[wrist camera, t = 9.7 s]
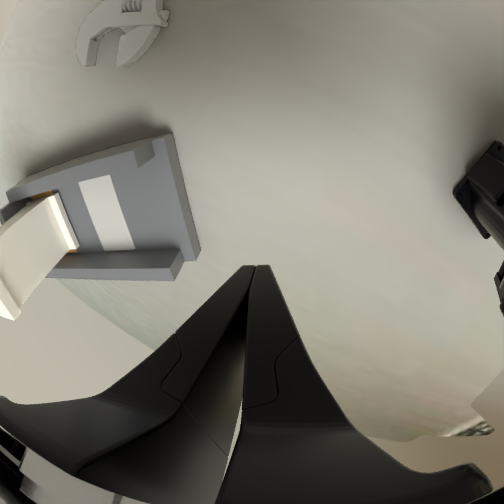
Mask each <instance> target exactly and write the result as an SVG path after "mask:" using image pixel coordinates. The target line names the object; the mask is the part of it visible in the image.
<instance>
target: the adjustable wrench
mask: <svg viewBox="0 0 504 504" xmlns="http://www.w3.org/2000/svg"><path fill="white" fill-rule="evenodd" d="M168 18H169V11H168V10H164V11H163V0H104V1H103V2H102V3H101V4H100V5H98V6H97V7H96V8H95V9H94V10H93V11H92V12H91V13H90V14H89V15H88V16H87V17H86V19H85V20H84V22H83V23H82V25H81V27H80V29H79V32H78V35H77V39H76V54H77V58H78V61H79V63H80V65H82V66H84V67H87V66H95V63H96V56H97V50H98V44H99V39H100V38H101V37H103V36H104V35H106V34H107V33H109V32H110V31H112V30H113V29H115V28H120V29H121V30H122V31H124V32H125V33H126V34H124V35H122V36H120V40H119V45H118V51H117V56H116V62H115V66H130V65H131V64H133V63H134V62H136V61H137V60H138V59H139V58H140V57H141V56H142V55H143V54H144V53H145V52H146V51H147V50H148V49H149V48H150V46H151V45H152V43H153V42H154V40H155V39H156V37H157V35H158V33H159V32H160V30H161V27H168V22H167V21H166V20H168Z"/></svg>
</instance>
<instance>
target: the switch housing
mask: <svg viewBox="0 0 504 504" xmlns="http://www.w3.org/2000/svg"><path fill="white" fill-rule="evenodd" d="M55 193H59V196H60V199H61V201H62V204H63V207H64V209H65V212H66V214H67V217H68V219H69V222H70V224H71V226H72V229H73V231H74V233H75V236H76V238H77V240H78V242H79V245H80V246H79V247H78V248H77V249H70V250H69V251H68V252H67V253H66V254H65V255H64V256H63V257H62V259H61V260H60V261H59V262H58V263H57V264H56V265H55V266H54V267H53V269H52V270H51V271H50V272H49V273H48V274H47V275H46V278H64V279H92V280H132V281H175V279H176V277H177V275H178V273H179V271H180V269H181V267H182V265H183V263H184V261H196V260H197V258H198V256H199V253H200V251H201V248H200V245H199V241H198V237H197V233H196V229H195V226H194V222H193V218H192V214H191V210H190V206H189V202H188V198H187V194H186V190H185V185H184V181H183V177H182V173H181V168H180V164H179V160H178V155H177V151H176V146H175V141H174V137H173V133H169V134H165V135H160V136H155V137H151V138H147V139H142V140H138V141H134V142H130V143H126V144H123V145H119V146H115V147H112V148H108V149H105V150H101V151H98V152H95V153H91V154H88V155H85V156H82V157H79V158H76V159H73V160H70V161H67V162H64V163H61V164H59V165H56V166H53V167H51V168H48V169H45V170H43V171H40V172H38V173H35V174H33V175H30V176H28V177H26V178H25V179H23V180H21V181H20V182H18V184H17V185H15V186H14V187H13V188H11V189H10V190H8V191H7V192H6V194H7V197H8V200H9V203H8V204H7V205H5V206H4V207H3V208H1V209H0V222H1V224H2V225H3V224H4V223H5V222H6V221H8V220H9V219H10V218H11V217H13V216H14V215H15V214H16V213H18V212H19V211H20V210H21V209H23V208H24V207H25V206H27V205H26V203H28V202H29V201H31V200H34V199H37V198H41V197H44V196H48V195H51V194H55Z"/></svg>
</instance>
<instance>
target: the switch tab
mask: <svg viewBox="0 0 504 504" xmlns="http://www.w3.org/2000/svg"><path fill="white" fill-rule="evenodd" d="M26 205H27V206H25V207H24V208H23V209H21V210H20V211H19V212H18V213H16V214H15V215H14V216H13V217H11V218H10V219H9V220H8V221H6V222H5V223H4V224H3V225H2V226H1V227H0V316H2V317H5V318H8V319H11V320H16V318H17V317H18V316H19V315H20V313H21V311H20V309H19V308H20V307H21V306H22V305H23V303H24V302H25V300H26V299H27V298H28V297H29V296H30V294H31V293H32V292H33V291H34V289H35V288H36V287H37V286H38V285H39V284H40V282H41V281H42V280H43V279H44V278H45V277H46V275H47V274H48V273H49V272H50V271H51V270H52V269H53V267H54V266H55V265H56V264H57V263H58V262H59V261H60V260H61V259H62V257H63V256H64V255H65V254H66V253H67V252H68V251H69V250H70V249H77V248H78V247H79V246H80V245H79V242H78V240H77V238H76V236H75V233H74V231H73V229H72V226H71V224H70V222H69V219H68V217H67V214H66V212H65V209H64V207H63V204H62V201H61V199H60V196H59V193H55V194H51V195H48V196H44V197H41V198H37V199H34V200H31V201H29V202H28V203H26Z"/></svg>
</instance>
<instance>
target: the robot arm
mask: <svg viewBox="0 0 504 504" xmlns="http://www.w3.org/2000/svg"><path fill="white" fill-rule="evenodd" d="M497 146H498V149H497ZM460 192H461V193H460ZM459 193H460V195H459V196H458V194H459ZM453 196H454V198H455V199H456V200H457V202H458V203H459V204H460V206H461V207H462V208H463V210H464V211H465V212H466V214H467V215H468V216H469V218H470V219H471V221H472V222H473V223H474V225H475V226H476V228H477V229H478V231H479V232H480V234H481V235H482V236H483V238H484V239H488V238H489V237H490V236H492V237H493V238H494V239H495V241H496V242H497V243H498V244H499V245H500V247H501V248H502V249H503V250H504V146H503V144H502V143H501V142H499V141H494V142H493V144H492V145H491V146H490V148H489V149H488V150H487V151H486V153H485V154H484V155H483V156H482V158H481V159H480V160H479V161H478V162H477V164H476V165H475V166H474V167H473V169H472V170H471V171H470V172H469V173H468V175H467V176H466V177H465V178H464V179H463V181H462V182H461V183H460V184H459V185H458V186H457V187H456V189H455V190H454V192H453ZM494 281H495V284H496V287H497V291H498V295H499V298H500V302H501V304H500V310H501V312H502V314H503V316H504V261H503V263H502V265H501V267H500V270H499V272H497V273H496V275H495V277H494ZM242 397H243V398H242ZM241 401H242V417H241V425H240V431H239V435H238V438H237V441H236V444H235V447H234V450H233V453H232V456H231V459H230V462H229V465H228V468H227V470H226V473H225V476H224V472H225V468H226V464H227V460H228V455H229V452H230V448H231V443H232V439H233V435H234V431H235V427H236V423H237V418H238V414H239V409H240V406H241ZM0 426H2V427H3V428H4V429H5V430H6V431H7V432H9V433H10V434H11V435H10V434H9V433H7V432H6V431H4V430H3V429H2V428H1V427H0V504H504V486H503V487H501V488H499V489H497V490H495V491H493V492H492V490H493V486H492V484H491V481H490V480H489V478H488V477H487V476H486V475H485V474H484V473H483V472H482V470H480V469H479V468H478V467H477V466H476V465H475V464H474V463H471V462H470V463H465V464H461V465H458V466H455V467H451V468H448V469H445V470H442V471H438V472H434V473H422V472H417V471H414V470H411V469H409V468H407V467H406V466H404V465H403V464H401V463H400V462H399V461H397V460H396V459H394V458H393V457H392V456H390V455H389V454H388V453H386V452H385V451H384V450H382V449H381V448H380V447H378V446H377V445H376V444H374V443H373V442H372V441H371V440H369V439H368V438H367V437H366V436H364V435H363V434H362V433H361V432H359V431H358V430H357V429H356V428H355V427H354V426H353V424H352V423H351V422H350V421H349V419H348V418H347V417H346V415H345V414H344V413H343V411H342V410H341V408H340V406H339V405H338V403H337V402H336V400H335V399H334V397H333V395H332V394H331V392H330V391H329V389H328V388H327V386H326V385H325V383H324V381H323V380H322V378H321V377H320V375H319V373H318V371H317V370H316V368H315V366H314V364H313V363H312V361H311V359H310V357H309V355H308V352H307V350H306V348H305V346H304V344H303V341H302V339H301V338H300V334H299V332H298V330H297V327H296V325H295V323H294V320H293V318H292V316H291V313H290V311H289V309H288V306H287V304H286V302H285V299H284V297H283V295H282V292H281V290H280V288H279V285H278V283H277V281H276V278H275V276H274V274H273V271H272V269H271V267H270V265H257V266H255V265H243V266H242V267H240V268H239V269H238V270H237V271H236V272H235V273H234V274H233V275H232V276H231V277H230V278H229V279H228V280H227V281H226V282H225V283H224V284H223V285H222V286H221V287H220V288H219V289H218V290H217V291H216V292H215V293H214V294H213V295H212V296H211V297H210V298H209V299H208V300H207V301H206V302H205V303H204V304H203V305H202V306H201V307H200V308H199V309H198V310H197V311H196V312H195V313H194V314H193V315H192V316H191V317H190V318H189V319H188V320H187V321H186V322H185V323H184V324H183V325H182V326H181V327H180V328H179V329H178V330H177V331H176V332H175V333H174V334H172V335H171V336H170V337H169V338H168V339H167V340H166V341H165V342H164V343H163V344H162V345H161V346H160V347H159V348H158V349H157V350H155V351H154V352H153V353H152V354H151V355H150V356H149V357H147V358H146V359H145V360H144V361H143V362H141V363H140V364H139V365H138V366H136V367H135V368H134V369H133V370H131V371H130V372H129V373H128V374H126V375H125V376H124V377H122V378H121V379H120V380H119V381H117V382H116V383H115V384H114V385H112V386H111V387H110V388H108V389H107V390H105V391H104V392H102V393H100V394H98V395H95V396H92V397H89V398H83V399H76V400H69V401H61V402H53V403H43V404H30V405H24V404H17V403H14V402H11V401H10V400H8V399H7V398H6V397H4V396H0ZM14 437H15V438H14ZM223 476H224V479H223ZM222 480H223V482H222ZM221 484H222V485H221ZM490 492H491V493H490ZM488 493H489V494H488Z"/></svg>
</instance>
